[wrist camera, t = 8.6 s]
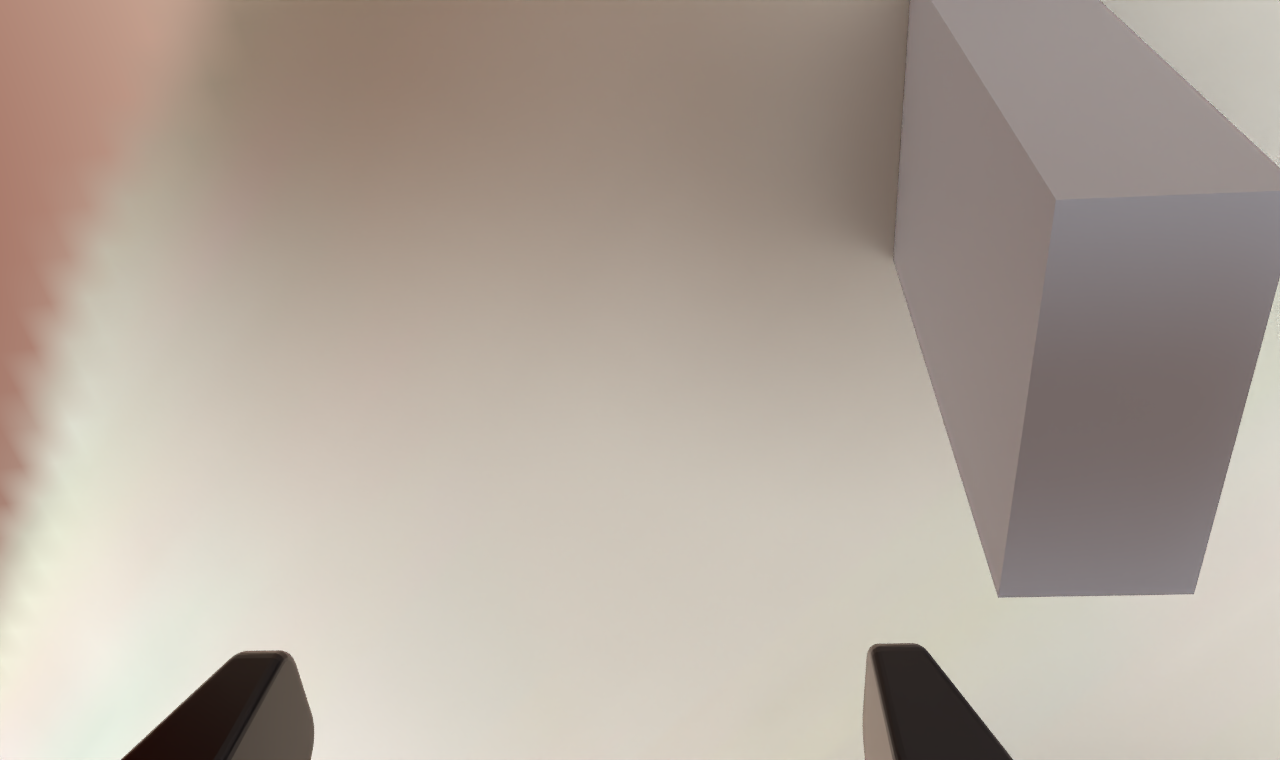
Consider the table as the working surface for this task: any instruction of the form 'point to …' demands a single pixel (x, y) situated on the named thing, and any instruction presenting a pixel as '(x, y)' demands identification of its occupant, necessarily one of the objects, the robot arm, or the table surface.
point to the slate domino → (1080, 288)
